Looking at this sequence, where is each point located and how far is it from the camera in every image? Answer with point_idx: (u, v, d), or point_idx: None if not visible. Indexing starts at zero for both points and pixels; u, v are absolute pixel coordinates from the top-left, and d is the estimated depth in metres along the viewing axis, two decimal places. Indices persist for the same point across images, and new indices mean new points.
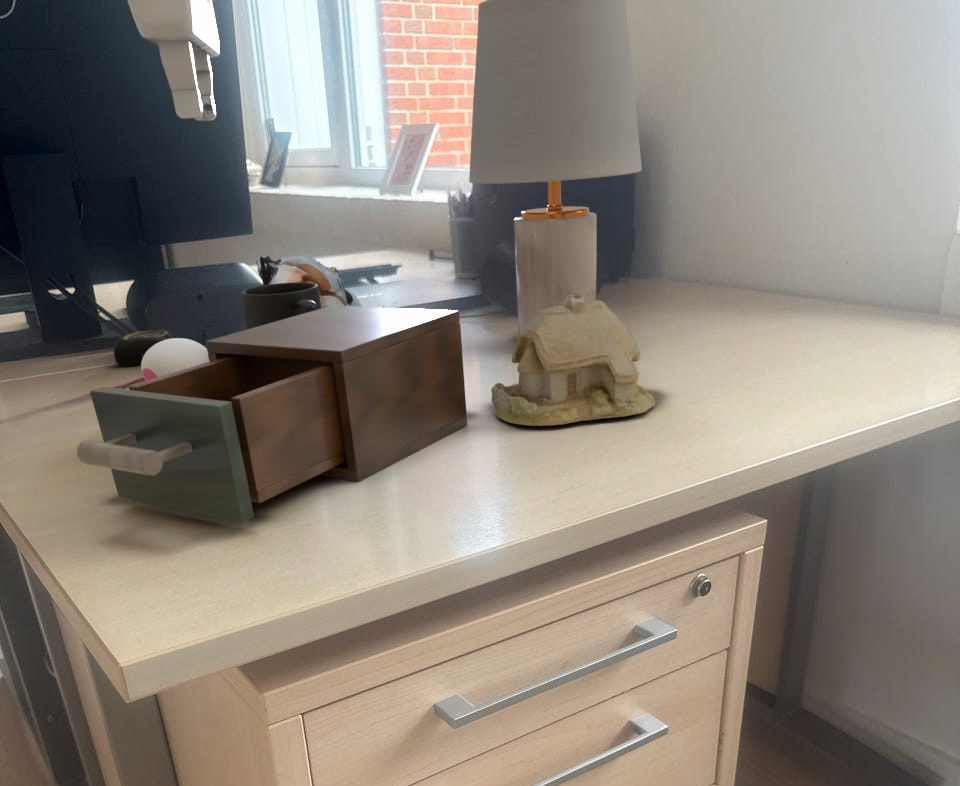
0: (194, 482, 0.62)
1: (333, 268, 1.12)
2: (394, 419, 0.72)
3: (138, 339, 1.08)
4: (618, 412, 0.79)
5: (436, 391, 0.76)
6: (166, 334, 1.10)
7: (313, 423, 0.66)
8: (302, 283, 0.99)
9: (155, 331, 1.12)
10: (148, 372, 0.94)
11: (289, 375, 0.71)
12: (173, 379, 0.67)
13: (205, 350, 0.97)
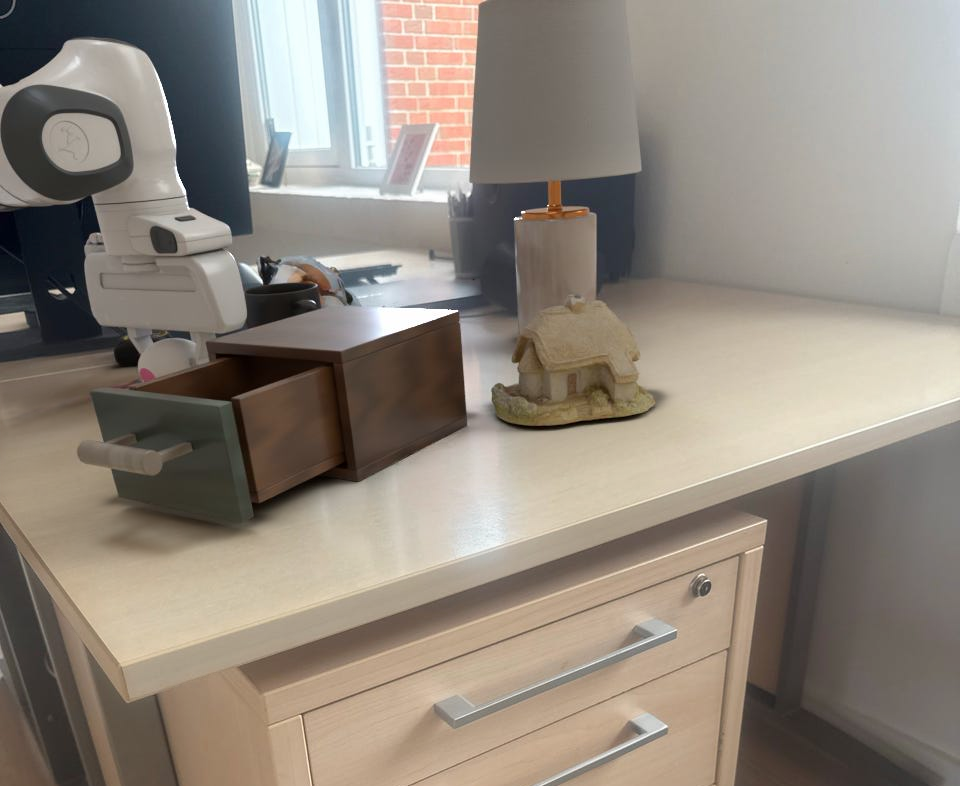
0: (194, 482, 0.62)
1: (333, 268, 1.12)
2: (394, 419, 0.72)
3: None
4: (618, 412, 0.79)
5: (436, 391, 0.76)
6: (166, 334, 1.10)
7: (313, 423, 0.66)
8: (302, 283, 0.99)
9: (155, 331, 1.12)
10: (145, 372, 0.95)
11: (289, 375, 0.71)
12: (173, 379, 0.67)
13: None
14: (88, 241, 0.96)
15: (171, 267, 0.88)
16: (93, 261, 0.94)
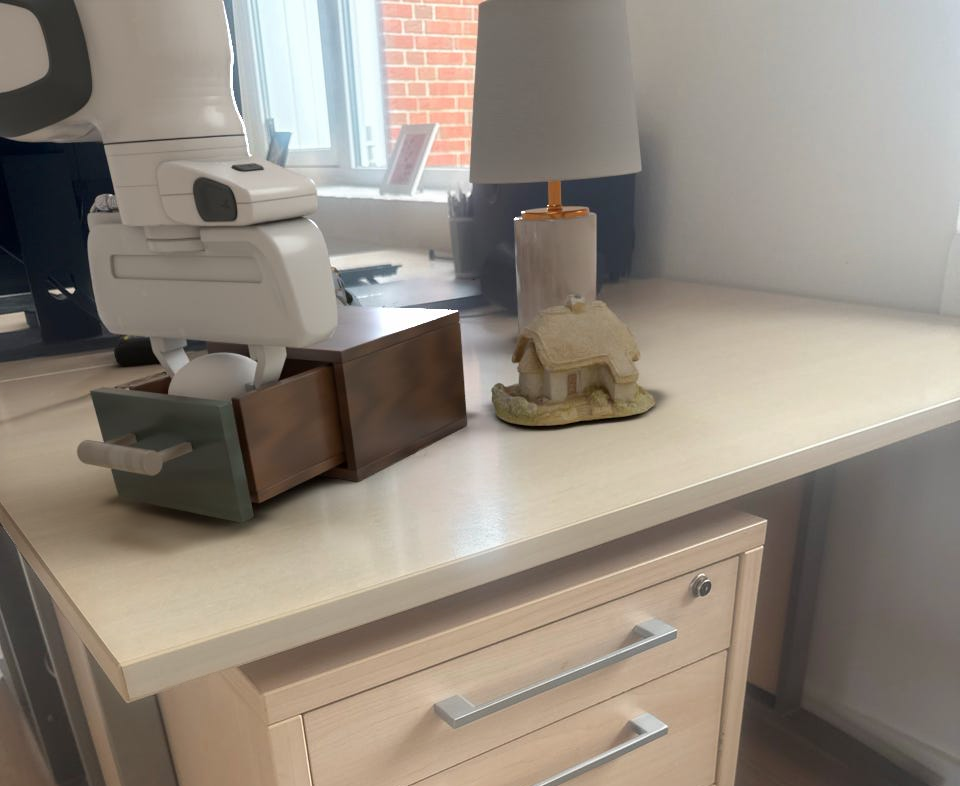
0: (194, 482, 0.62)
1: (333, 268, 1.12)
2: (394, 419, 0.72)
3: (138, 339, 1.08)
4: (618, 412, 0.79)
5: (436, 391, 0.76)
6: None
7: (313, 423, 0.66)
8: None
9: None
10: None
11: (289, 375, 0.71)
12: None
13: None
14: (93, 207, 0.64)
15: (224, 243, 0.56)
16: (101, 237, 0.63)
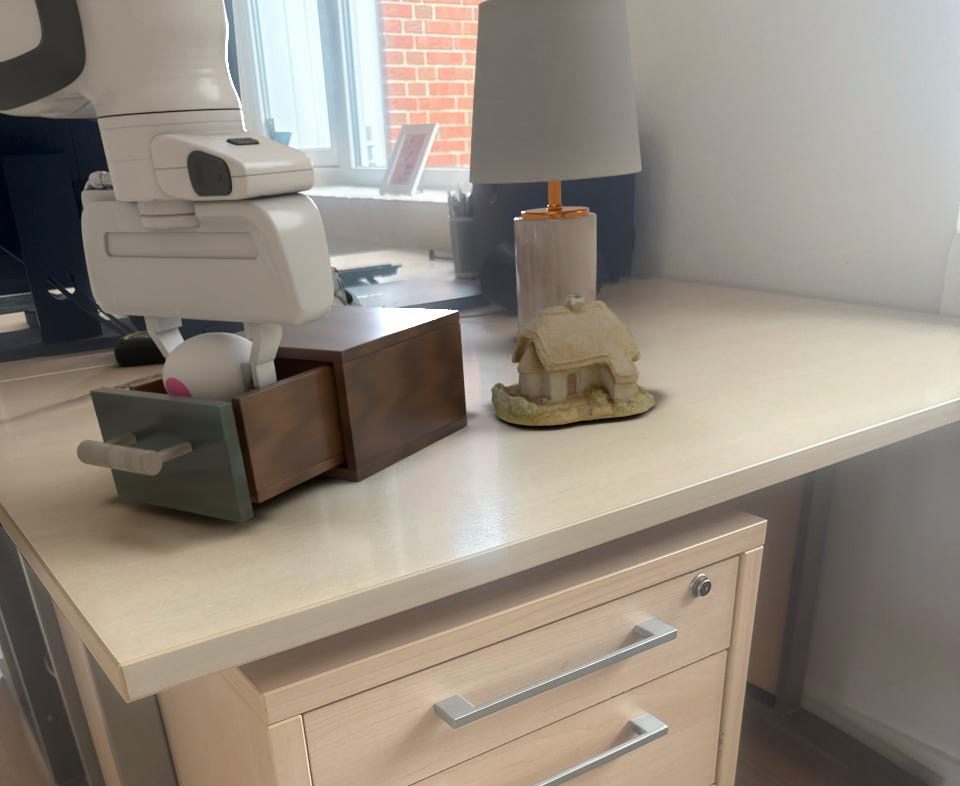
0: (194, 482, 0.62)
1: (333, 268, 1.12)
2: (394, 419, 0.72)
3: (138, 339, 1.08)
4: (618, 412, 0.79)
5: (436, 391, 0.76)
6: None
7: (313, 423, 0.66)
8: None
9: None
10: (175, 384, 0.62)
11: (289, 375, 0.71)
12: None
13: None
14: (87, 185, 0.63)
15: (219, 218, 0.55)
16: (95, 214, 0.62)
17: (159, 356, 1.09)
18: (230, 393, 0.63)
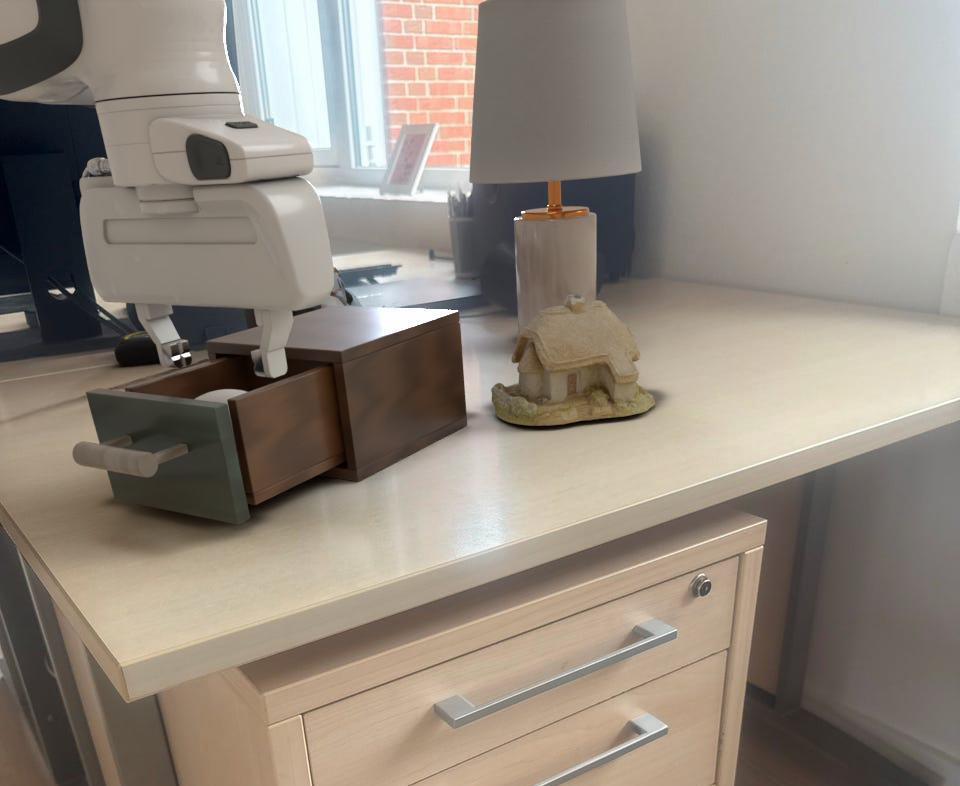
0: (190, 484, 0.61)
1: (333, 268, 1.12)
2: (394, 419, 0.72)
3: (139, 339, 1.08)
4: (618, 412, 0.79)
5: (436, 391, 0.76)
6: None
7: (310, 424, 0.66)
8: None
9: None
10: None
11: (286, 376, 0.71)
12: (169, 380, 0.67)
13: None
14: (85, 172, 0.63)
15: (218, 203, 0.55)
16: (93, 201, 0.61)
17: None
18: None
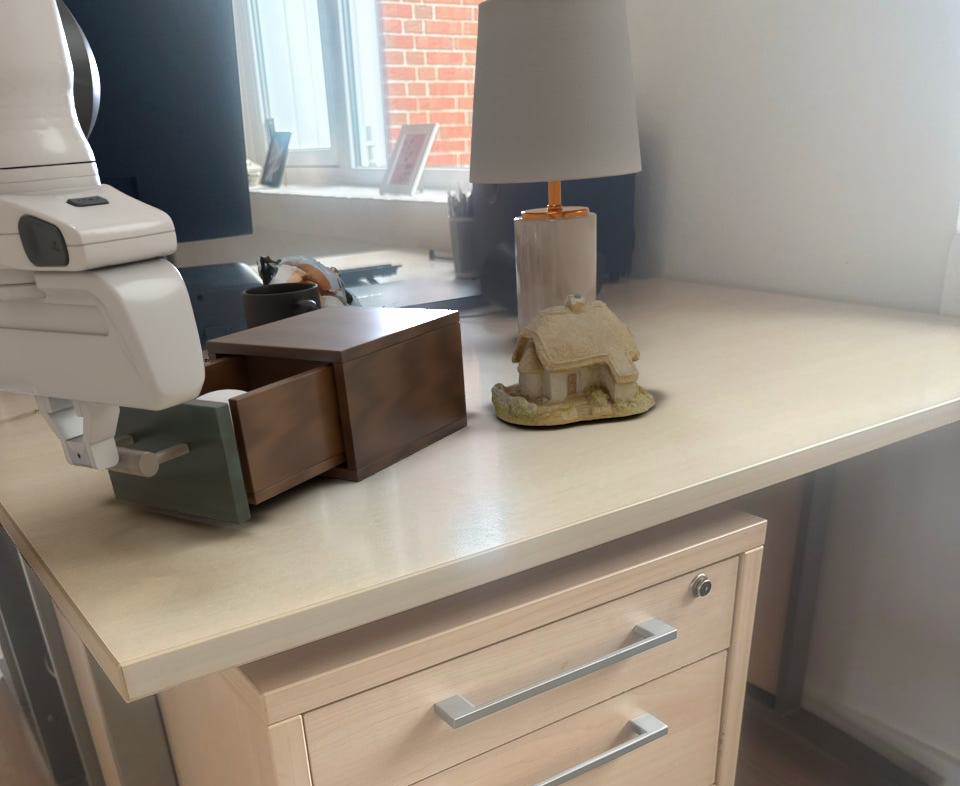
0: (191, 483, 0.61)
1: (333, 268, 1.12)
2: (394, 419, 0.72)
3: None
4: (618, 412, 0.79)
5: (436, 391, 0.76)
6: None
7: (310, 424, 0.66)
8: (302, 283, 0.99)
9: None
10: None
11: (287, 376, 0.71)
12: None
13: None
14: None
15: (62, 291, 0.48)
16: None
17: None
18: None
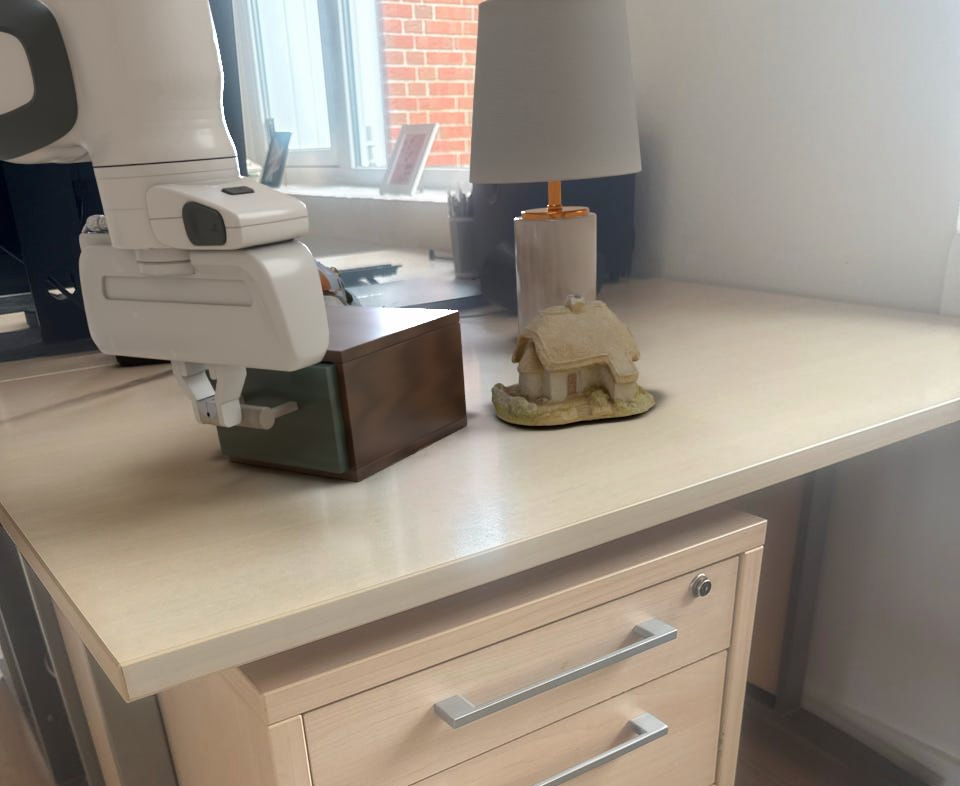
0: (297, 438, 0.69)
1: (333, 268, 1.12)
2: (394, 419, 0.72)
3: None
4: (618, 412, 0.79)
5: (436, 391, 0.76)
6: None
7: None
8: None
9: None
10: None
11: None
12: None
13: None
14: (85, 228, 0.64)
15: (214, 267, 0.56)
16: (92, 258, 0.62)
17: None
18: None
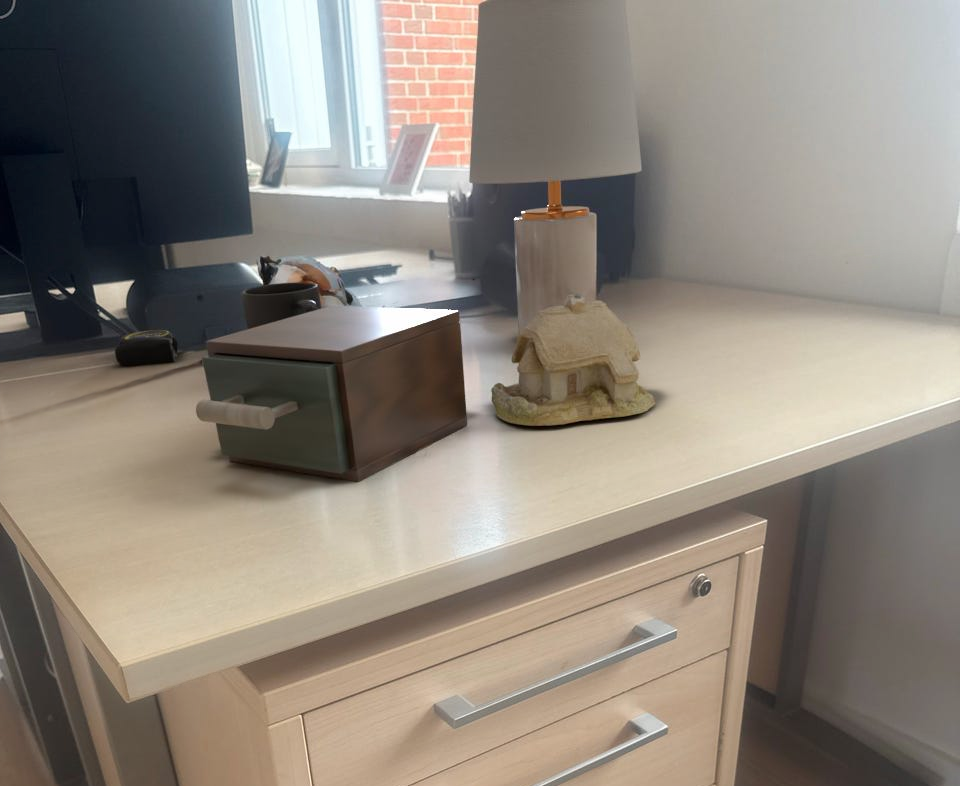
0: (297, 438, 0.69)
1: (333, 268, 1.12)
2: (394, 419, 0.72)
3: (139, 339, 1.08)
4: (618, 412, 0.79)
5: (436, 391, 0.76)
6: (167, 334, 1.10)
7: None
8: (302, 283, 0.99)
9: (156, 331, 1.12)
10: None
11: None
12: None
13: None
14: None
15: None
16: None
17: (160, 356, 1.09)
18: None
